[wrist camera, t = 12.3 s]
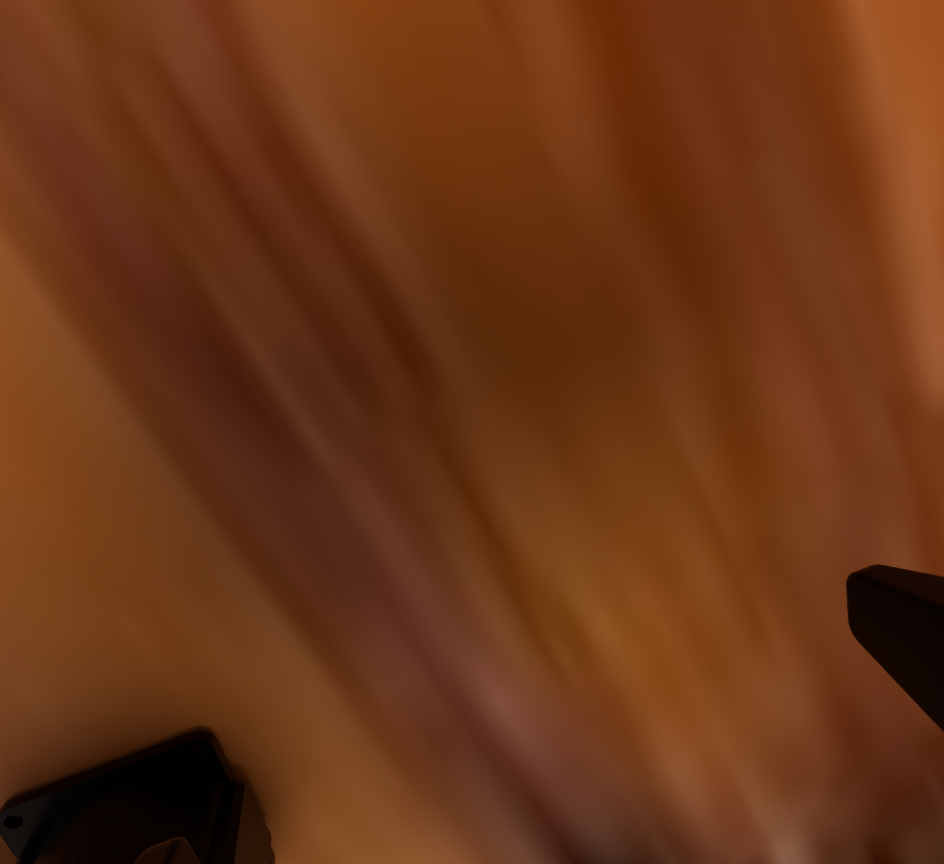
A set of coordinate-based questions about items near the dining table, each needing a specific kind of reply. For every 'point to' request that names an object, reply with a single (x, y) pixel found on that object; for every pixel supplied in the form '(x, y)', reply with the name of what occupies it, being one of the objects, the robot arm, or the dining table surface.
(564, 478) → the dining table surface
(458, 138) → the dining table surface
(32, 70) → the dining table surface
